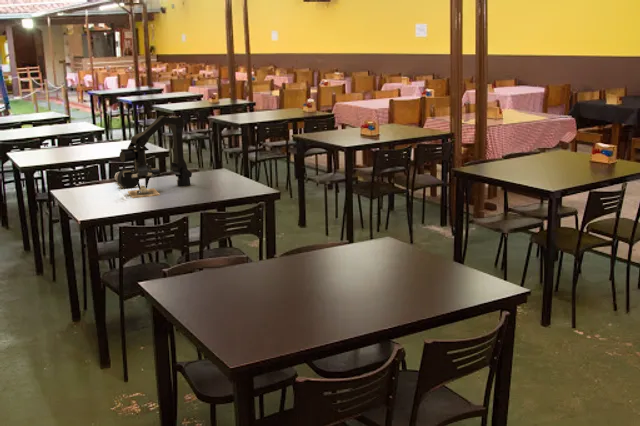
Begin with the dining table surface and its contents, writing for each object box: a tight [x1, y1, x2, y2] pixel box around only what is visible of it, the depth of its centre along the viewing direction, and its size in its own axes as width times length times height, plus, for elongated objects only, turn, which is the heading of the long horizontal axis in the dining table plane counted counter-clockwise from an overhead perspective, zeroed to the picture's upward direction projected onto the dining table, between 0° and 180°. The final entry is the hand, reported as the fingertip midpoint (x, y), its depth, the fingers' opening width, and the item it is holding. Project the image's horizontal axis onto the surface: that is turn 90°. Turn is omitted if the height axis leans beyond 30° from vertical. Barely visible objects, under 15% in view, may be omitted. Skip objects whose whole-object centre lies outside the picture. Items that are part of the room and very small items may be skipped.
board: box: [127, 187, 161, 199], centre depth 367 cm, size 14×18×4 cm
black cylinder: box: [114, 169, 140, 189], centre depth 400 cm, size 10×34×10 cm, turn 25°
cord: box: [138, 184, 148, 193], centre depth 368 cm, size 3×7×3 cm
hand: (143, 188), depth 368 cm, fingers closed on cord, 3 cm apart
